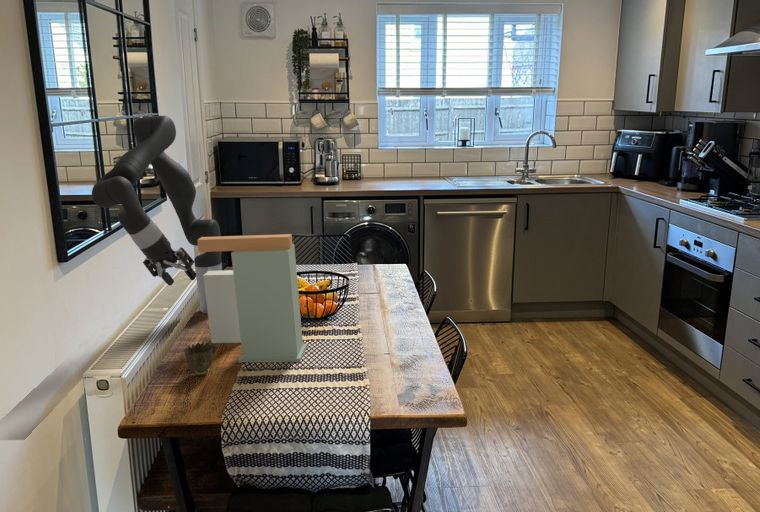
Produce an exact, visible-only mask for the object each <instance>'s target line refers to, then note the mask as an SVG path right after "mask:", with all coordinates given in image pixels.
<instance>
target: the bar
mask: <svg viewBox="0 0 760 512" xmlns="http://www.w3.org/2000/svg"><path fill="white" fill-rule="evenodd" d="M197 242H198V246H197V249H198V252H199V253H205V252H214V251H222V252H233V251H247V250H280V249H291V248H292V246H293V244H294V243H293V235H292V233H285V234H284V233H282V234H280V233H279V234H260V235H259V234H256V235H255V234H254V235H253V234H252V235H224V236H223V235H222V236H221V235H220V236H219V237H201V238H199V239H198V240H197Z"/></svg>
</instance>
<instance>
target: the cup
mask: <svg viewBox="0 0 760 512" xmlns="http://www.w3.org/2000/svg"><path fill="white" fill-rule="evenodd" d="M183 351H184V355H185V359H186V362H187V366H188V367H189V369H190V370H191V371H193V372H194V375H195V376H196V377H204V376H206V375H208V374H209V369H210V368H211V366H212V364H213V343H207V344H206V345H205V344H204V343H203V342H201V343H200V342H197V343H196V344H193V343H192V345H191V346H190V345H187V347H185V348H184V350H183Z"/></svg>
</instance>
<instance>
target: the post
mask: <svg viewBox="0 0 760 512" xmlns="http://www.w3.org/2000/svg"><path fill="white" fill-rule="evenodd" d="M203 278H204V286H205V294H206V303H207V311H208V314H207V317H208V318H207V319H208V325H209V332H210V333H209V334H210V341H211V343H210V344H241V337H240V328H239V319H238V310H237V301H236V292H235V283H234V274H233V269H231V270H230V269H229V270H228V269H227V270H226V269H225V270H223V269H222V270H221V271H208V272H207V273H205V274H204V275H203Z"/></svg>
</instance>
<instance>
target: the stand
mask: <svg viewBox="0 0 760 512" xmlns="http://www.w3.org/2000/svg"><path fill="white" fill-rule="evenodd" d="M292 244H293V246H292V248H291V249H280V250H247V251H231V253H230V256H231V263H232V270H233V274H234V283H235V292H236V301H237V310H238V319H239V328H240V337H241V343H240V344H241V352H242V353H241V355H240V356H239V357H238V358H237V363H238V364H239V363H242V362H250V363H288V362H289V363H298V362H301V361H302V359H303V357H304V354H305V352H306V350H307V348H308V343H303V341H304V339H303V331H302V330H303V329H302V319H301V308H300V294H299V284H298V283H299V282H298V274H297V273H298V272H297V259H296V250H295V249H296V248H295V247H296V246H295V244H294V243H292ZM242 364H243V363H242Z"/></svg>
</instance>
